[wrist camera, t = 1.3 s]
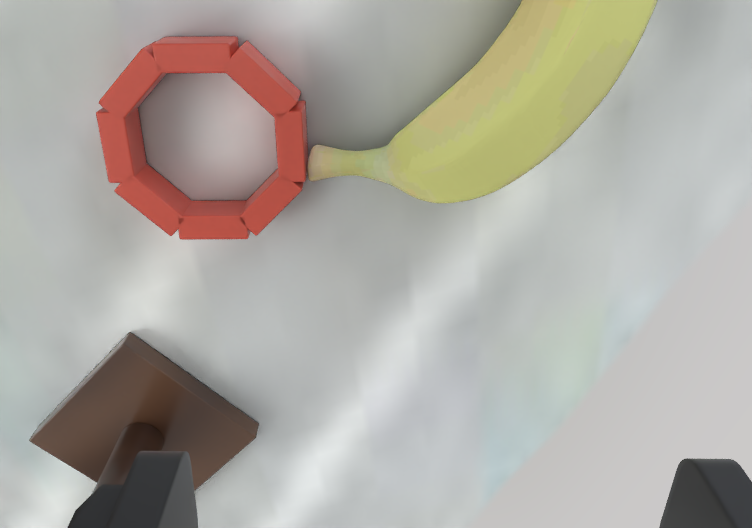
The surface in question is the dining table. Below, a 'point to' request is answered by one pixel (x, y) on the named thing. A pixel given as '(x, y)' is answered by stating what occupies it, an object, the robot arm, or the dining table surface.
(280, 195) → the ring
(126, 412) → the peg stand
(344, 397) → the dining table surface
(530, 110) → the banana
